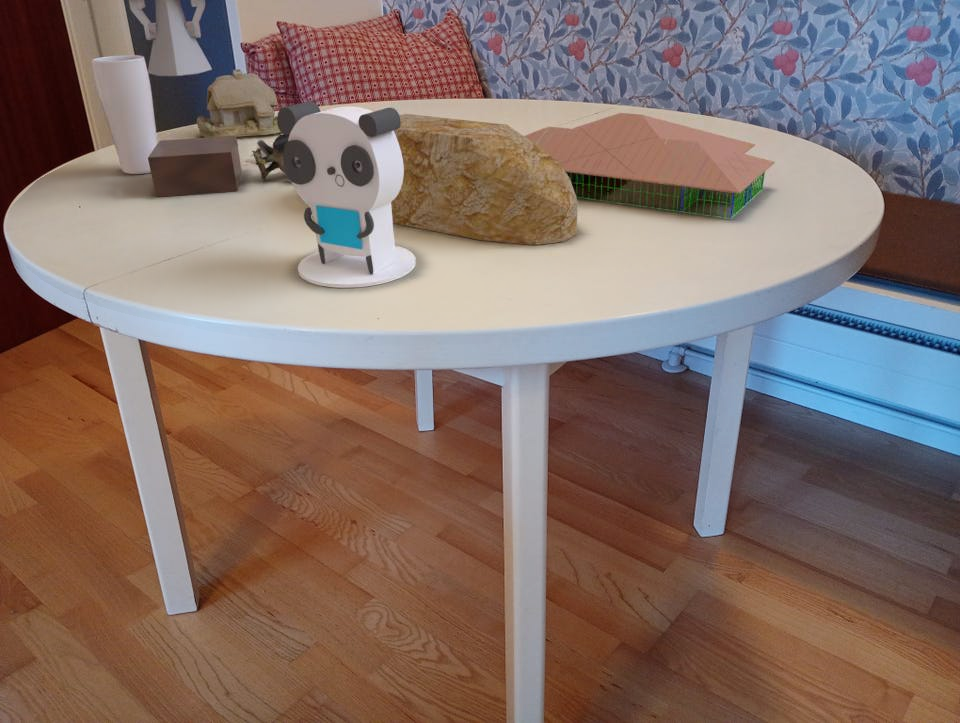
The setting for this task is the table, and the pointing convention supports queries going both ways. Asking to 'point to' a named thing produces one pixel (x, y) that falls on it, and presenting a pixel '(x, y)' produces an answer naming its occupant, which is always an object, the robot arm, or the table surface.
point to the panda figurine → (347, 191)
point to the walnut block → (195, 166)
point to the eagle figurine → (271, 155)
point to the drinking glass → (127, 108)
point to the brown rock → (481, 183)
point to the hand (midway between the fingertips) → (173, 38)
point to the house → (656, 157)
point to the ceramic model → (239, 107)
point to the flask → (174, 44)
